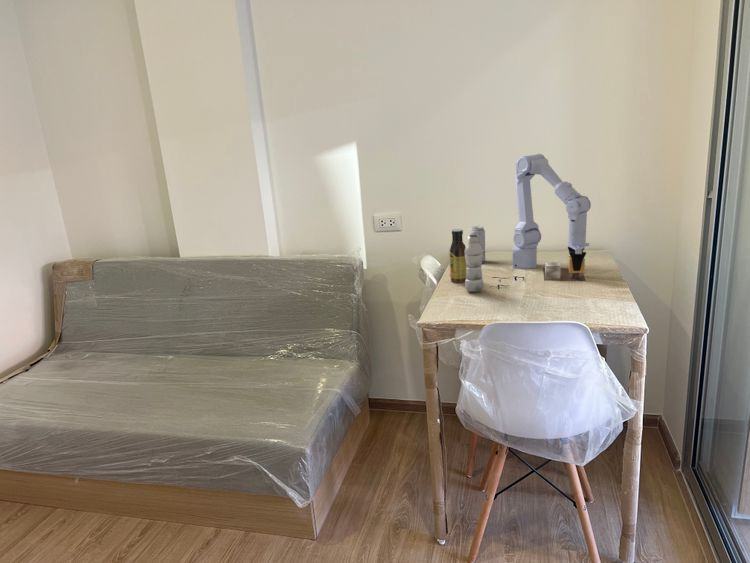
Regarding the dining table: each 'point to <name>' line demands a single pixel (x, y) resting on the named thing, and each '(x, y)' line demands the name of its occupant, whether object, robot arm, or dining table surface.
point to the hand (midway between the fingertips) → (576, 268)
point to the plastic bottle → (473, 264)
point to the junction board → (560, 273)
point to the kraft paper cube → (572, 266)
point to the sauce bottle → (457, 257)
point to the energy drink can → (479, 237)
